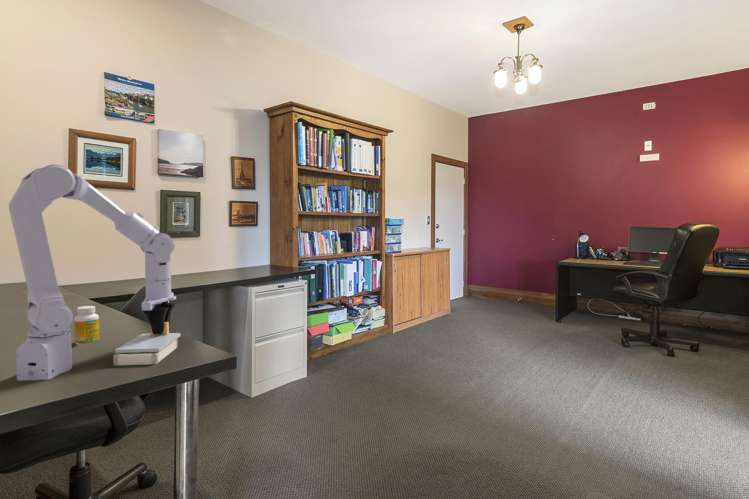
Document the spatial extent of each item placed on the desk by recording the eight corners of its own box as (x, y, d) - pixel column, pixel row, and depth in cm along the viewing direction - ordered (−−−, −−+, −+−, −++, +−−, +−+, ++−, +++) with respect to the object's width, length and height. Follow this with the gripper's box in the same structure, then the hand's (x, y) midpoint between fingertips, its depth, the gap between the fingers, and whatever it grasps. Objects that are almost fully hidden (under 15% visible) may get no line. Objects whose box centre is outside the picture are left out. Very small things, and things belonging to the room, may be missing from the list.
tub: (156, 367, 91) (156, 354, 91) (113, 368, 90) (113, 355, 90) (177, 349, 104) (177, 338, 104) (140, 350, 103) (140, 339, 103)
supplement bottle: (86, 346, 107) (85, 309, 106) (69, 344, 108) (68, 308, 107) (104, 340, 112) (103, 305, 112) (88, 339, 113) (86, 304, 113)
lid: (159, 351, 92) (158, 335, 92) (114, 353, 91) (114, 336, 91) (180, 335, 105) (180, 321, 105) (142, 336, 104) (141, 322, 104)
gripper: (163, 283, 96) (164, 340, 97) (184, 276, 111) (186, 325, 112) (131, 284, 96) (133, 341, 96) (157, 276, 110) (158, 326, 111)
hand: (159, 332), depth 104 cm, fingers closed on lid, 2 cm apart
